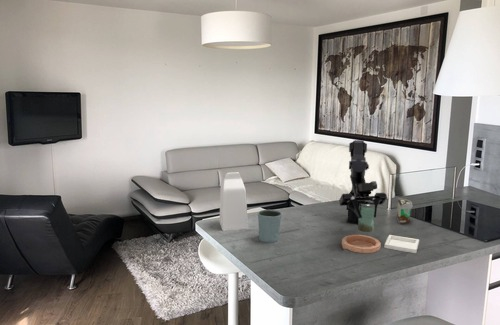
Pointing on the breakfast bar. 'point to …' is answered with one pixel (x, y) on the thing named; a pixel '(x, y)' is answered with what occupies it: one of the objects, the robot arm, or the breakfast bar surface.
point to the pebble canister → (366, 216)
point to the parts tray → (402, 243)
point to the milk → (233, 203)
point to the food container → (403, 210)
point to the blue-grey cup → (269, 225)
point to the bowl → (361, 243)
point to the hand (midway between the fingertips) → (367, 217)
